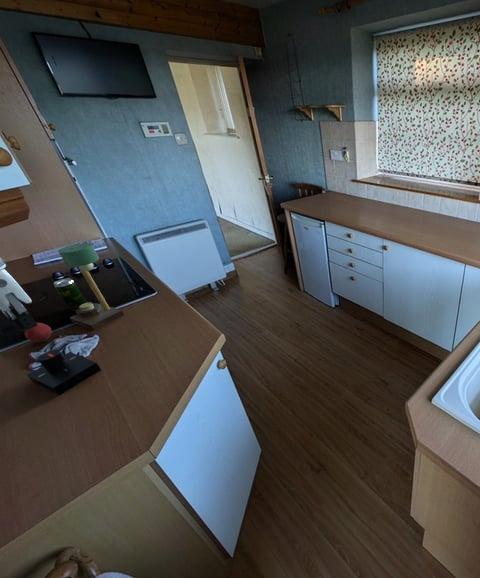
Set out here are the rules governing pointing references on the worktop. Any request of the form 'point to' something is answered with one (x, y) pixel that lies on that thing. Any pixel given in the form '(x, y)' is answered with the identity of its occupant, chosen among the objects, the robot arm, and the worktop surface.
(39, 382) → the dimmer
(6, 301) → the robot arm
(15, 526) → the worktop surface
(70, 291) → the beer can
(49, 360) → the dimmer knob
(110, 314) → the lamp base
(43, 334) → the onion
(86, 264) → the lamp
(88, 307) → the lamp switch
